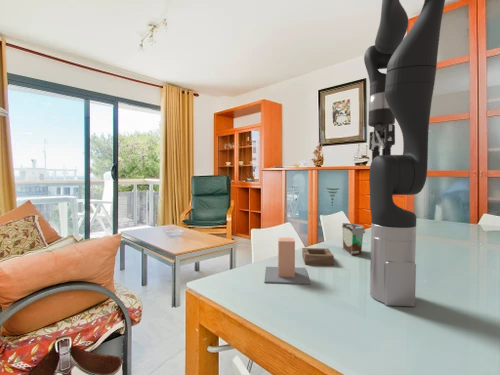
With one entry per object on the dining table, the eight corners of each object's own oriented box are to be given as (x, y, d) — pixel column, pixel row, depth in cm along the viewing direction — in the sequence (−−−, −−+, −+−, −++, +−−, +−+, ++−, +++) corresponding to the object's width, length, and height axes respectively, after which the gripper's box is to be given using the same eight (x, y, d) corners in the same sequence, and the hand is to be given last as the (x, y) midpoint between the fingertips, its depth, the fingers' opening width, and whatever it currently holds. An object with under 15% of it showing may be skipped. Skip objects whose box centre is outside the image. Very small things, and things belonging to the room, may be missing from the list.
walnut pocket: (333, 265, 86) (333, 255, 86) (305, 264, 87) (305, 255, 87) (328, 257, 95) (328, 248, 95) (302, 256, 96) (302, 247, 96)
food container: (370, 256, 96) (370, 228, 95) (352, 256, 96) (353, 228, 95) (357, 247, 108) (357, 223, 108) (341, 247, 108) (342, 222, 108)
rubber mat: (310, 284, 71) (310, 282, 71) (264, 282, 72) (264, 281, 72) (305, 269, 83) (305, 267, 83) (265, 267, 84) (265, 266, 84)
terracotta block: (294, 277, 75) (294, 241, 75) (278, 276, 75) (278, 241, 75) (293, 271, 79) (293, 237, 79) (278, 271, 80) (278, 237, 79)
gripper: (405, 103, 77) (403, 160, 78) (384, 114, 92) (383, 162, 92) (377, 104, 78) (376, 160, 79) (362, 115, 92) (361, 163, 93)
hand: (380, 161), depth 85 cm, fingers open, 8 cm apart
